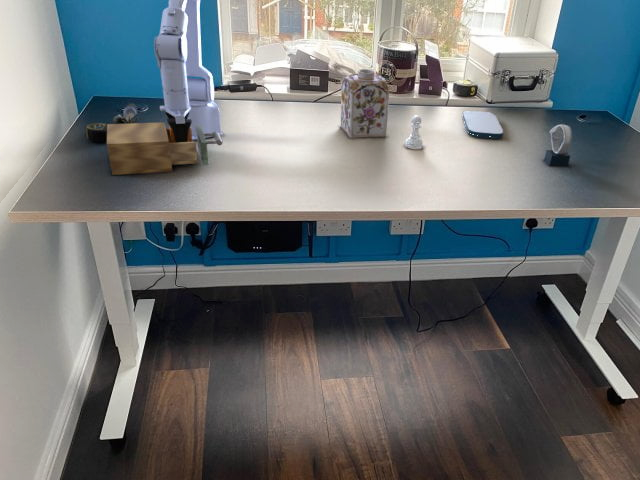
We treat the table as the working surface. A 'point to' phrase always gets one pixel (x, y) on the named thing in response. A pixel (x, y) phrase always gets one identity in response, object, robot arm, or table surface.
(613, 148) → the table surface
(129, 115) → the eagle figurine
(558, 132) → the watch
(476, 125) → the external hard drive
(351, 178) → the table surface
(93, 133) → the tape measure
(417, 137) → the chess pawn
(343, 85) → the decorative jar
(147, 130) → the cabinet
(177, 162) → the drawer
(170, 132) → the plain orange block
